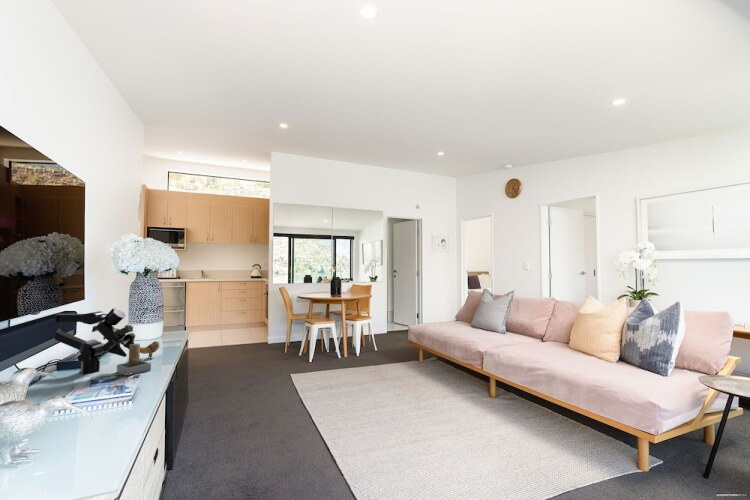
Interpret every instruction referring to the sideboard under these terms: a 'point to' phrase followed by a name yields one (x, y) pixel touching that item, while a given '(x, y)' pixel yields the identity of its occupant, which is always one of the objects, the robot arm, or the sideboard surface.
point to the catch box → (136, 369)
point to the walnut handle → (134, 355)
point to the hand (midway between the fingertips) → (131, 353)
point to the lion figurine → (150, 348)
